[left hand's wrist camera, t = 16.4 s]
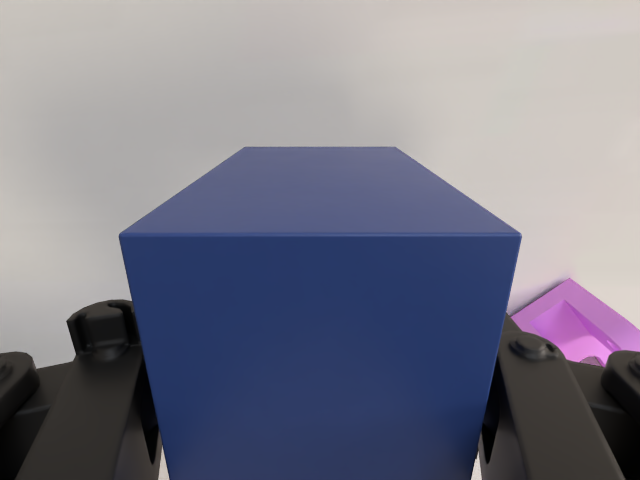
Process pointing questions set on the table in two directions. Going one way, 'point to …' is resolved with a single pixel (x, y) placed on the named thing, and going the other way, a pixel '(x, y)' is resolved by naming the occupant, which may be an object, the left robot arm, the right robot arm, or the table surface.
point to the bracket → (578, 323)
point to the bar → (320, 317)
